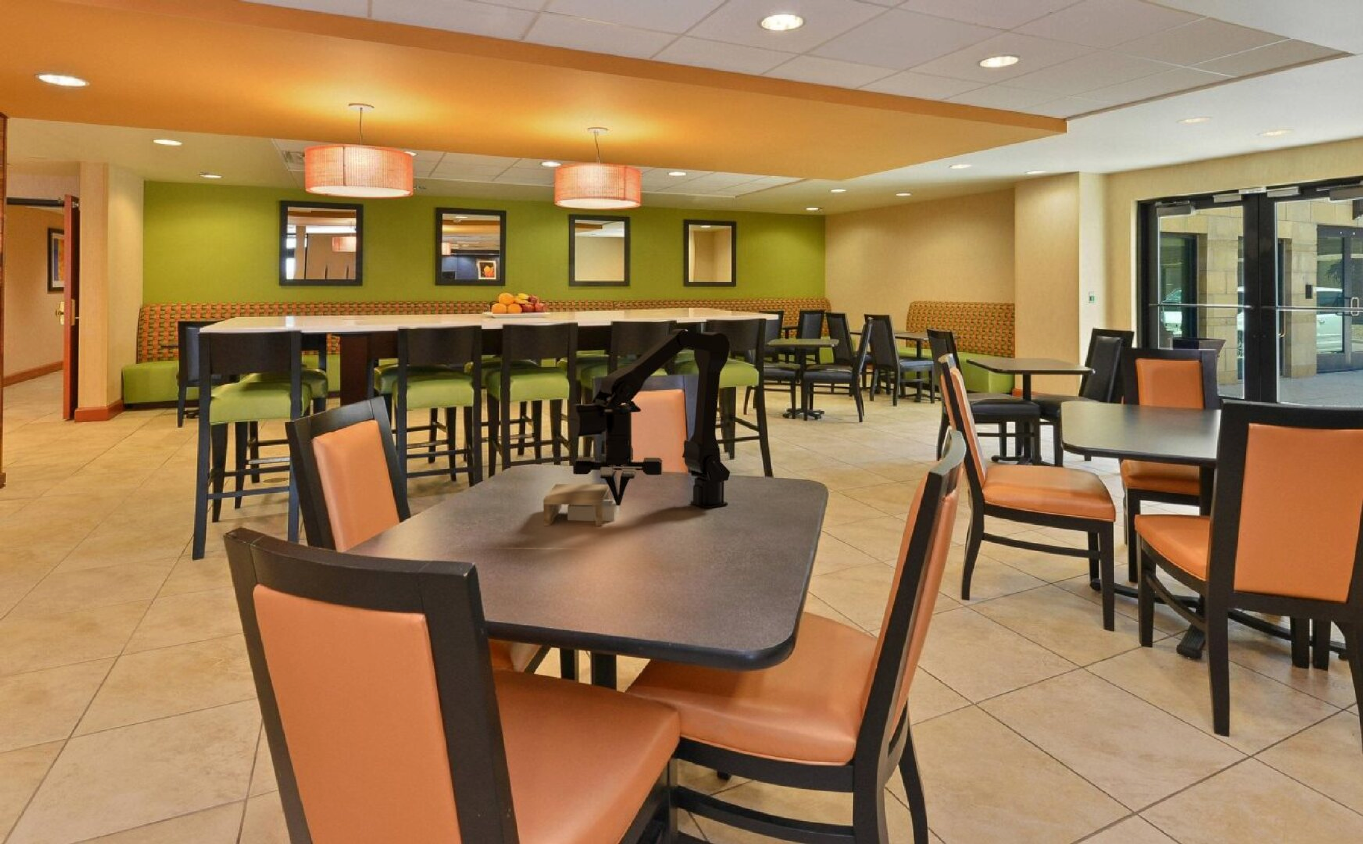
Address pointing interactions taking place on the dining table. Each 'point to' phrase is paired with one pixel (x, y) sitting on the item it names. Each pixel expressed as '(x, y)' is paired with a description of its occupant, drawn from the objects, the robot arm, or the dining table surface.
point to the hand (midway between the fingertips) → (618, 505)
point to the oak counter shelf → (574, 499)
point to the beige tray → (593, 511)
